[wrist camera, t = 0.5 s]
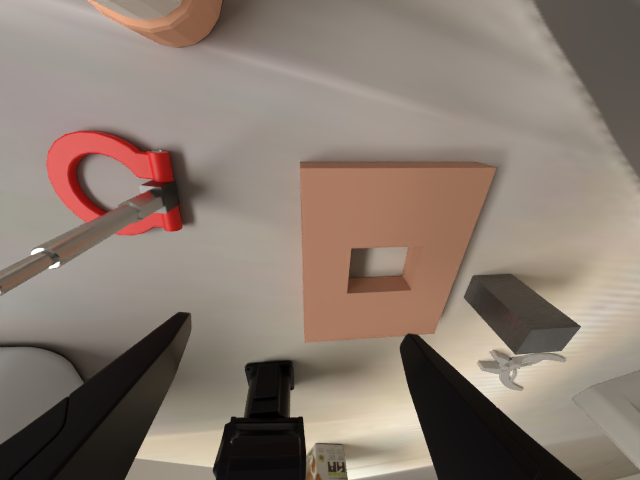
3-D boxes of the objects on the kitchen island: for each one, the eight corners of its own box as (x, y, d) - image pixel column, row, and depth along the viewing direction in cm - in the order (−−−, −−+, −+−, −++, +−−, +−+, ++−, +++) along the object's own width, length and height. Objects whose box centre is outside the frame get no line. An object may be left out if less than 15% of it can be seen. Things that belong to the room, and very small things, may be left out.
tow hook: (82, 225, 21) (188, 234, 22) (-180, 354, 10) (59, 361, 11) (41, 123, 17) (171, 138, 18) (-479, 140, 6) (-60, 178, 7)
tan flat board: (424, 317, 31) (434, 333, 29) (304, 325, 29) (304, 342, 27) (475, 162, 21) (496, 167, 19) (300, 162, 20) (300, 168, 17)
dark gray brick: (499, 295, 30) (561, 350, 23) (463, 297, 30) (515, 354, 23) (511, 273, 28) (581, 326, 21) (472, 275, 28) (531, 330, 21)
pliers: (524, 396, 42) (466, 381, 37) (517, 387, 43) (460, 372, 39) (573, 364, 38) (514, 344, 34) (563, 355, 39) (506, 334, 35)
